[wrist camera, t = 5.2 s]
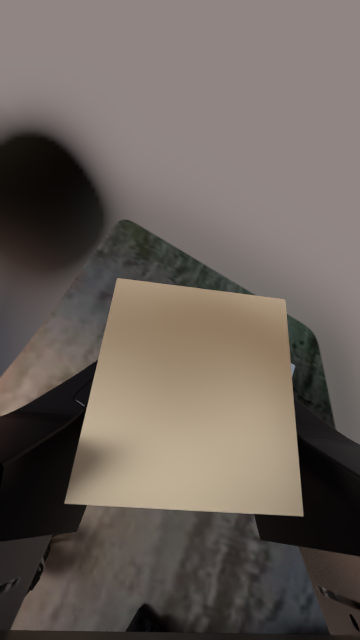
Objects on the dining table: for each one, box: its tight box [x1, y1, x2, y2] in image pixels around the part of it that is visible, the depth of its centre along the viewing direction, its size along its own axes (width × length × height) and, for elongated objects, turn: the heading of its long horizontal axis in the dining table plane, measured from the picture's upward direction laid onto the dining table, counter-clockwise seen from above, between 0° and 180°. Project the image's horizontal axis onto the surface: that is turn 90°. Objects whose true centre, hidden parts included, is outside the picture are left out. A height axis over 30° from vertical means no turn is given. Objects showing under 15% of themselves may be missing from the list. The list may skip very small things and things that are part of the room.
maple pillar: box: [64, 278, 303, 516], centre depth 9 cm, size 5×5×12 cm
